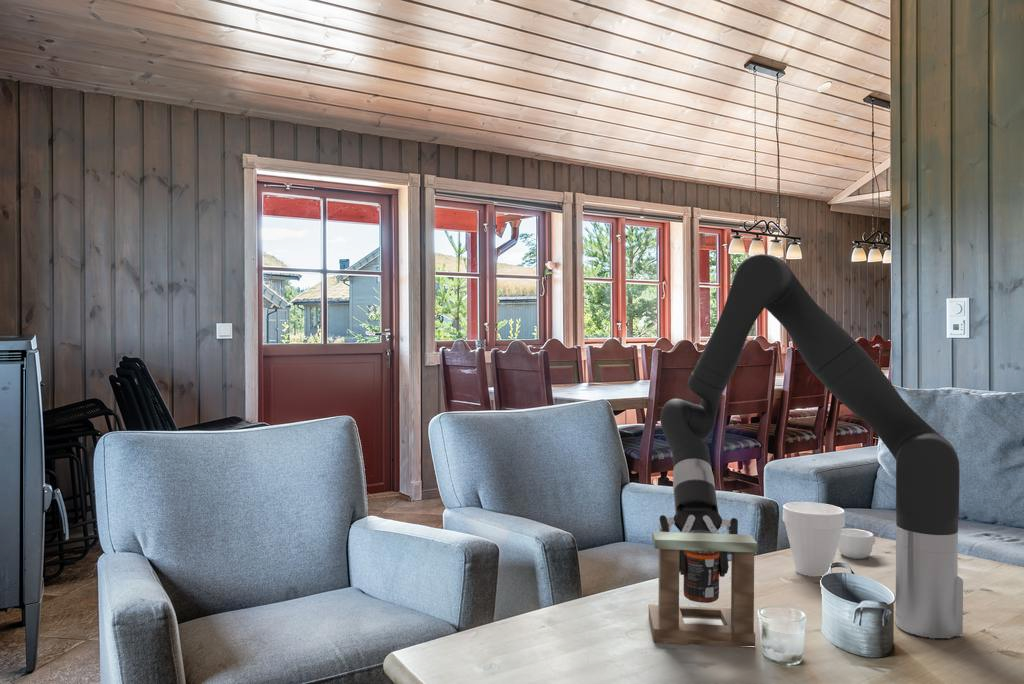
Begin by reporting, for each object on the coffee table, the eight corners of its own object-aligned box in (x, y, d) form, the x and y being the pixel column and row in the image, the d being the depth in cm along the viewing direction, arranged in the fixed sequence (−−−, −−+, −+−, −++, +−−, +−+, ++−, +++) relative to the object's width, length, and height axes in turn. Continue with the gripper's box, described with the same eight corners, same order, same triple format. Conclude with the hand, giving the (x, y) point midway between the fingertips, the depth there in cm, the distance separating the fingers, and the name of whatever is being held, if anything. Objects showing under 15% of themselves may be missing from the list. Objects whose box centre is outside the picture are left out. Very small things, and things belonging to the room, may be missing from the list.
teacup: (854, 562, 164) (855, 538, 164) (828, 553, 171) (828, 530, 171) (888, 558, 167) (888, 534, 167) (860, 549, 175) (861, 526, 175)
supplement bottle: (720, 605, 123) (720, 538, 123) (683, 602, 124) (684, 536, 124) (717, 593, 129) (718, 529, 129) (683, 590, 130) (683, 527, 130)
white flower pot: (825, 585, 148) (826, 517, 148) (770, 570, 158) (771, 506, 158) (855, 573, 156) (855, 509, 156) (801, 559, 165) (801, 499, 165)
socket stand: (741, 621, 129) (742, 524, 129) (756, 650, 117) (757, 543, 117) (648, 617, 130) (649, 521, 130) (654, 645, 119) (654, 539, 118)
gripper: (656, 476, 135) (661, 561, 123) (737, 479, 133) (750, 564, 122) (653, 499, 140) (658, 582, 128) (731, 501, 139) (743, 586, 127)
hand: (702, 573), depth 125 cm, fingers closed on supplement bottle, 6 cm apart
